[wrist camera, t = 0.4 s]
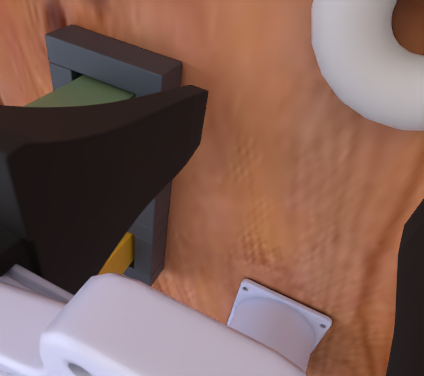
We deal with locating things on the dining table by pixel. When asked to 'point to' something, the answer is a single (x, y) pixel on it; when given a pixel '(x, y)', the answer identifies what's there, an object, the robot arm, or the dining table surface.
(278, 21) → the dining table surface
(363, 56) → the donut
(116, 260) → the mustard peg
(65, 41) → the peg stand
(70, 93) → the green peg
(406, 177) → the dining table surface
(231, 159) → the dining table surface
